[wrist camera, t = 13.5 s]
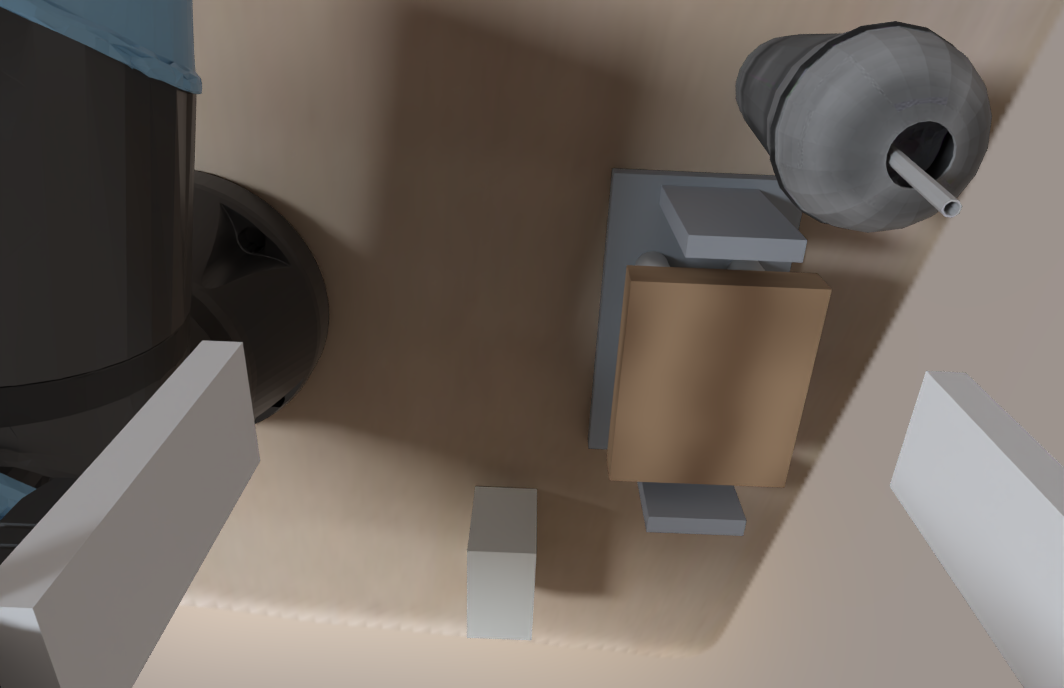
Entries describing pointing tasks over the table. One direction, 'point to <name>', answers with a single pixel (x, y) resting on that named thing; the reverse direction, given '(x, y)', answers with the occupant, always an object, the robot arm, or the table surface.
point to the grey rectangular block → (502, 563)
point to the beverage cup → (867, 123)
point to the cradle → (689, 242)
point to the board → (712, 374)
